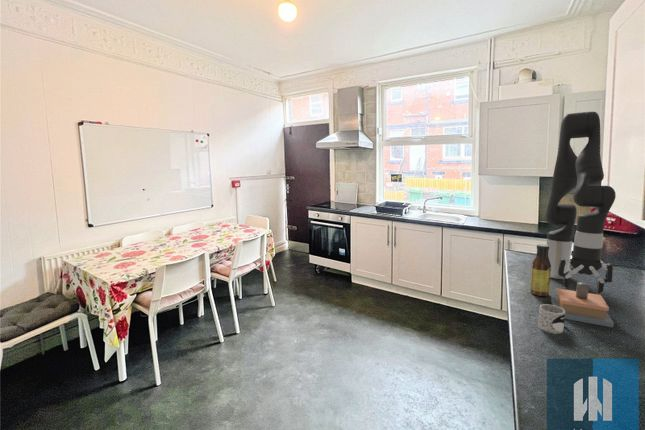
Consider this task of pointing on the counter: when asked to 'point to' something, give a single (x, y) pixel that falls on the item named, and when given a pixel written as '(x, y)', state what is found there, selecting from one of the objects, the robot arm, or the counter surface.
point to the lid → (582, 297)
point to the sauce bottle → (541, 272)
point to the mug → (551, 319)
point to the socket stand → (584, 314)
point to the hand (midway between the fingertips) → (582, 290)
